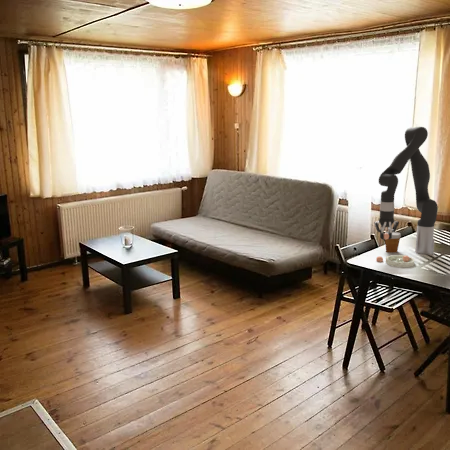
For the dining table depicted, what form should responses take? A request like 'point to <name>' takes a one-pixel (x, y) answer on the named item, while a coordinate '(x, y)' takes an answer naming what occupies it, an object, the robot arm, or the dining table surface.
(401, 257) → the ring tray
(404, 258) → the salmon orange ball
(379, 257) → the peach orange ball
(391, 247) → the disposable coffee cup
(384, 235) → the bead
